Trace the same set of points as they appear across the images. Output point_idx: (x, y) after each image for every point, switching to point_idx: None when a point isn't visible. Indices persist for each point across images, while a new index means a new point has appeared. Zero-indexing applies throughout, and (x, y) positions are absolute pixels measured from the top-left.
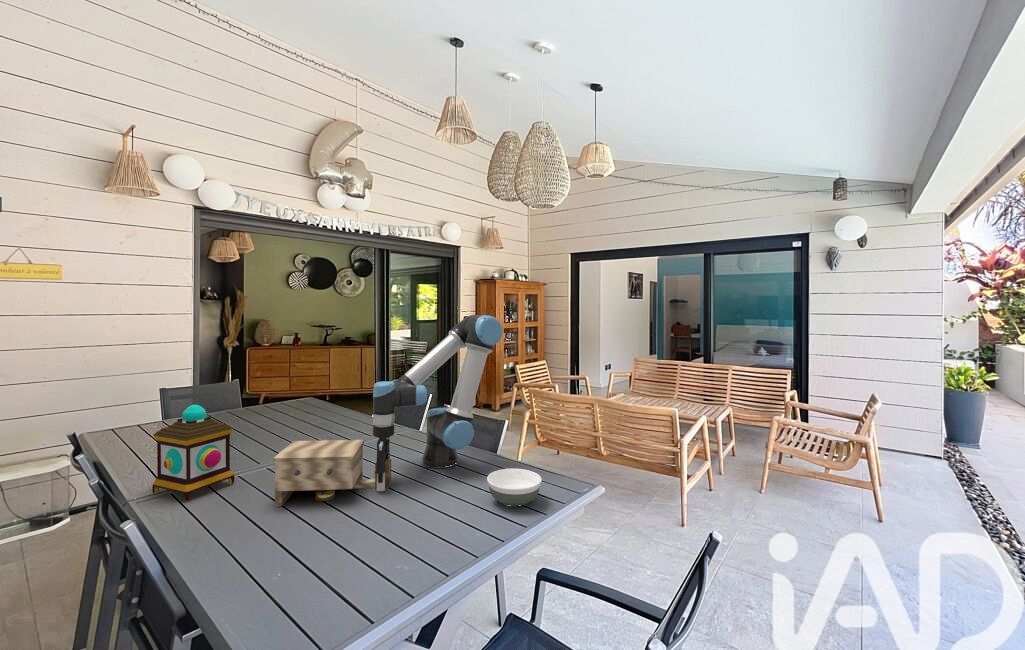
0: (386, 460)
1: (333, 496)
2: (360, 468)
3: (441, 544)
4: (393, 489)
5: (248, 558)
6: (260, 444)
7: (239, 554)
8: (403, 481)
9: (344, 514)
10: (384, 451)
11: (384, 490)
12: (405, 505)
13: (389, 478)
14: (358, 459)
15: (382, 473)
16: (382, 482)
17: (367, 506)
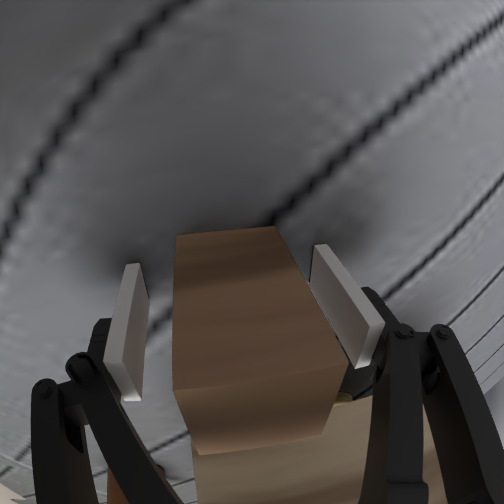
0: (228, 412)
1: (338, 396)
2: (259, 448)
3: None
4: (297, 194)
5: (499, 363)
6: (35, 496)
7: (484, 378)
8: (142, 151)
9: (461, 314)
10: (490, 481)
11: (327, 245)
12: (485, 117)
13: (286, 262)
14: (342, 498)
15: (438, 328)
16: (362, 287)
17: (447, 270)
